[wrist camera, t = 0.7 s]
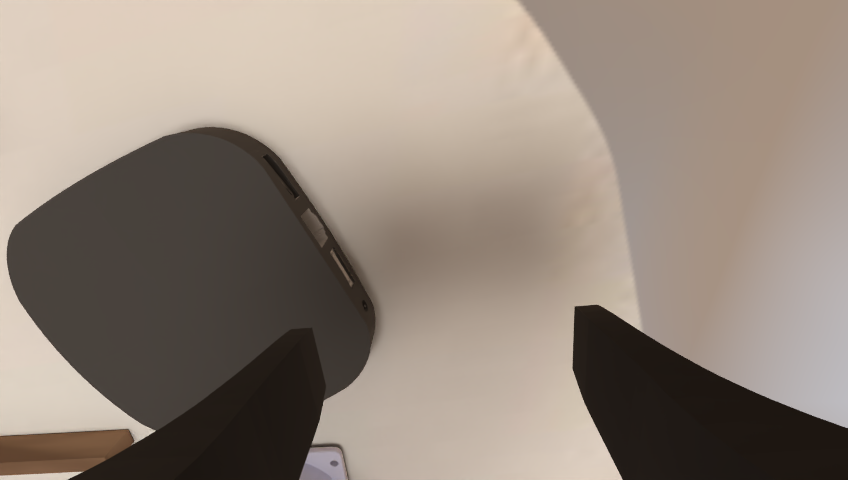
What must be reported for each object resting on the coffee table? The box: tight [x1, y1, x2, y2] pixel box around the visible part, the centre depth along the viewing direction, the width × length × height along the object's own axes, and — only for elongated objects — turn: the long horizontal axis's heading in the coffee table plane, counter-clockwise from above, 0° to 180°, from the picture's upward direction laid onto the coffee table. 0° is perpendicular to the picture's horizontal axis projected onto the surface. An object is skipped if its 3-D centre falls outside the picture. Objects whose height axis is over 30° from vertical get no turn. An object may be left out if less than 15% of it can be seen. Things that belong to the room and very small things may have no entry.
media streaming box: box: [7, 127, 375, 431], centre depth 21 cm, size 15×15×3 cm
